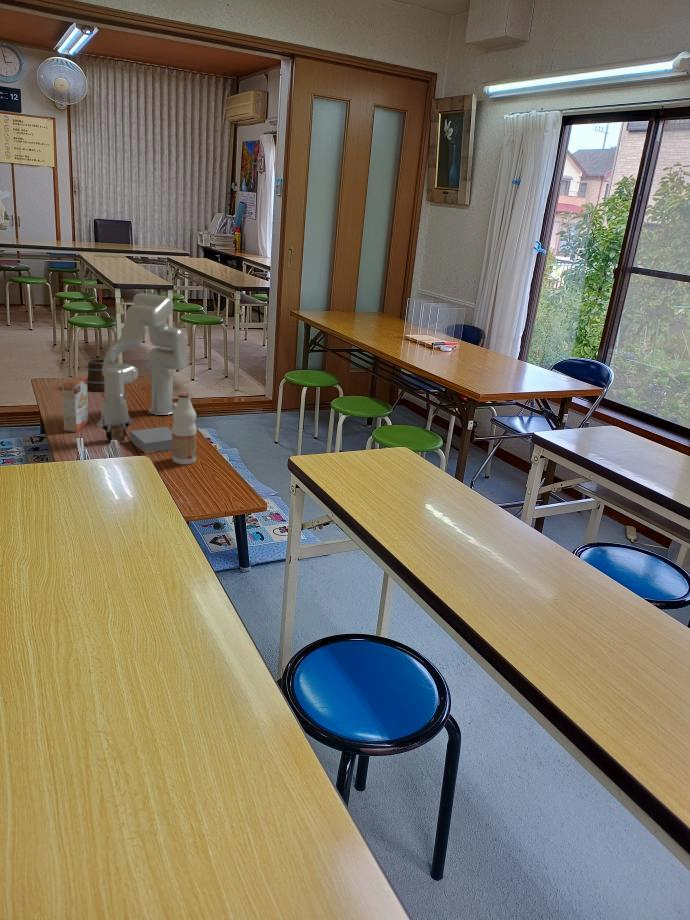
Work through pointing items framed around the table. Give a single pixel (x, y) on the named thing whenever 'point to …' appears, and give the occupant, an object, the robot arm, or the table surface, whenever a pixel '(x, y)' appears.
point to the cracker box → (75, 404)
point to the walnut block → (117, 433)
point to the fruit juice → (184, 431)
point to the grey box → (152, 439)
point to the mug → (95, 376)
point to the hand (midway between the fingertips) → (116, 438)
